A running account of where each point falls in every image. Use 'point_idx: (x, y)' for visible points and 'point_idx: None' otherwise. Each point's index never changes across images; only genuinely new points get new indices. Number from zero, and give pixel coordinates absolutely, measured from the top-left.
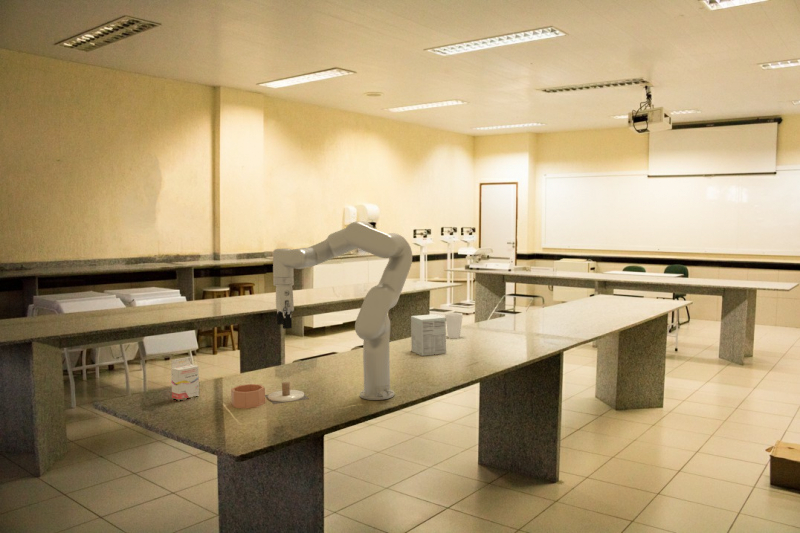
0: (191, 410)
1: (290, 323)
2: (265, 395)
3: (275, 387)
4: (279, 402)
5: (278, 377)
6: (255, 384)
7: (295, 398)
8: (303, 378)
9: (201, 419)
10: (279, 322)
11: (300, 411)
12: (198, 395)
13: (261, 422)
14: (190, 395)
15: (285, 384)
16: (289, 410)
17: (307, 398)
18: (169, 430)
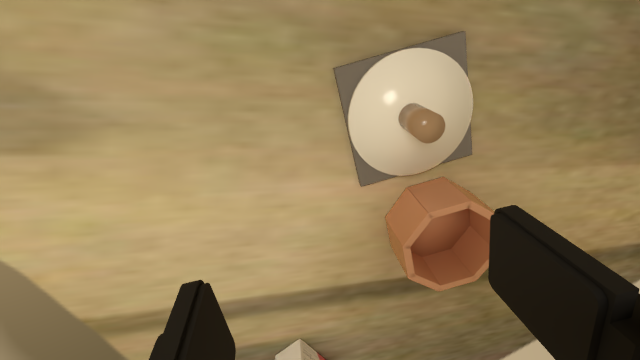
0: (418, 330)
1: (551, 243)
2: (366, 181)
3: (246, 151)
4: (464, 137)
5: (78, 141)
6: (416, 231)
7: (470, 85)
8: (102, 28)
9: (496, 301)
10: (227, 350)
11: (566, 71)
12: (301, 342)
13: (595, 179)
14: (316, 358)
15: (443, 129)
16: (538, 106)
17: (461, 37)
18: (535, 338)
